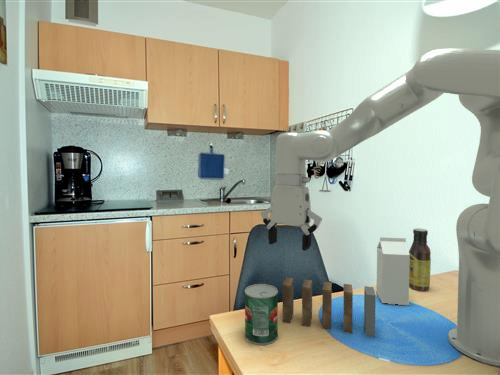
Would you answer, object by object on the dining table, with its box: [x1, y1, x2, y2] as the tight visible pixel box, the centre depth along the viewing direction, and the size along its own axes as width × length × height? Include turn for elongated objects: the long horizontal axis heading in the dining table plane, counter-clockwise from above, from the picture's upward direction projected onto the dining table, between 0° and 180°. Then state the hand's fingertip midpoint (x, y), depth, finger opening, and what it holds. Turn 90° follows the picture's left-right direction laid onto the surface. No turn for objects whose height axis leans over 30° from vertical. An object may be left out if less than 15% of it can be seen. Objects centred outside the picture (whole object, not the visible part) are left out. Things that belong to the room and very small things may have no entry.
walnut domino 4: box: [342, 283, 354, 334], centre depth 69 cm, size 2×5×10 cm, turn 162°
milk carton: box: [375, 236, 410, 306], centre depth 84 cm, size 7×7×19 cm
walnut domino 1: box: [282, 277, 294, 324], centre depth 74 cm, size 2×5×10 cm, turn 162°
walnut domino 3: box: [321, 281, 333, 331], centre depth 71 cm, size 2×5×10 cm, turn 162°
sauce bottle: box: [408, 227, 432, 292], centre depth 92 cm, size 7×6×20 cm
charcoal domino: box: [363, 285, 377, 338], centre depth 68 cm, size 2×5×10 cm, turn 162°
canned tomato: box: [244, 283, 279, 346], centre depth 66 cm, size 8×8×11 cm
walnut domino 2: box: [301, 279, 313, 327], centre depth 72 cm, size 2×5×10 cm, turn 162°
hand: (288, 246), depth 73 cm, fingers open, 9 cm apart
